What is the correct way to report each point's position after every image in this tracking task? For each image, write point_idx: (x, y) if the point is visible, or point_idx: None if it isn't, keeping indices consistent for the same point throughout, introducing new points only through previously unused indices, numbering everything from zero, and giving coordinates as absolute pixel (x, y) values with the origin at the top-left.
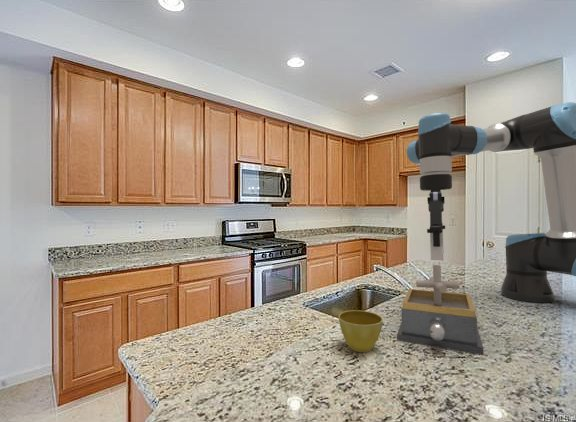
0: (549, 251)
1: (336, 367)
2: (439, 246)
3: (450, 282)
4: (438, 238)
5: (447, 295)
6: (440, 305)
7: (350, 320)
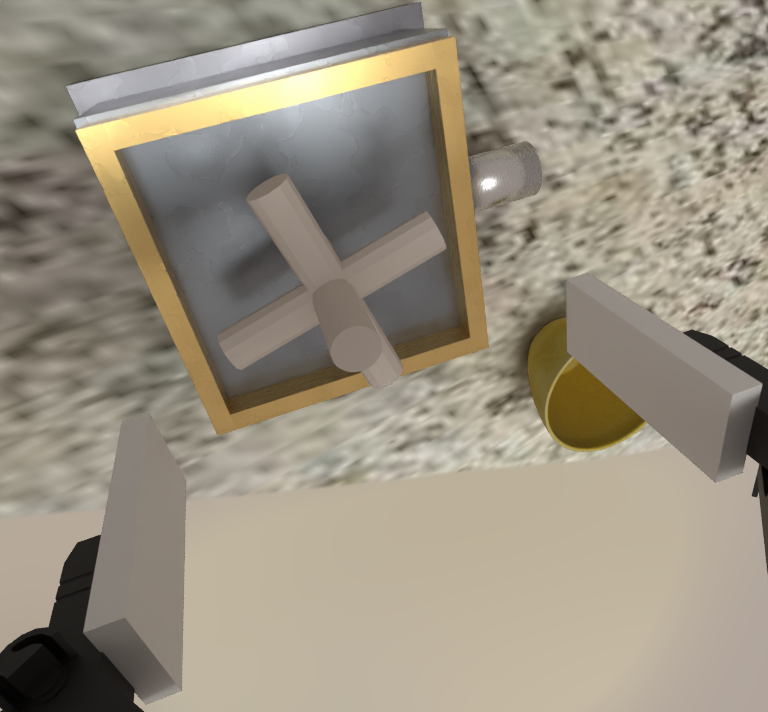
0: None
1: (678, 327)
2: (692, 333)
3: (309, 229)
4: (756, 372)
5: (161, 250)
6: (333, 232)
7: (556, 424)
